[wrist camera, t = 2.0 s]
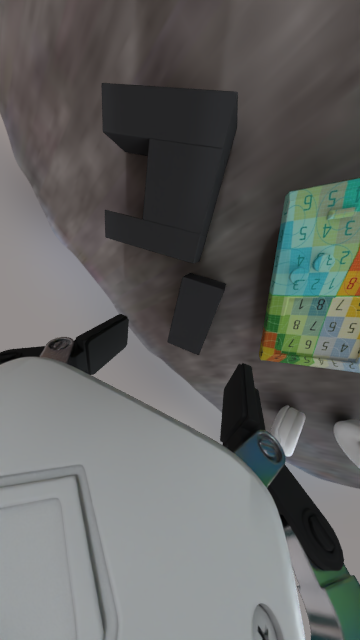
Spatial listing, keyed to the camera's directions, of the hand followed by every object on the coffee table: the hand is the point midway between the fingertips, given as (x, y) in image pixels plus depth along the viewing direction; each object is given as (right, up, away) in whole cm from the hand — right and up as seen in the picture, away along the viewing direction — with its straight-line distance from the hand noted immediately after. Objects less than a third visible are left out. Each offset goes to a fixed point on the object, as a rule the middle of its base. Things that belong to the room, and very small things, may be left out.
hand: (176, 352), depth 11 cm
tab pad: (+3, +4, +14) cm, 15 cm away
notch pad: (-2, +20, +9) cm, 22 cm away
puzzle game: (+18, +7, +8) cm, 21 cm away
